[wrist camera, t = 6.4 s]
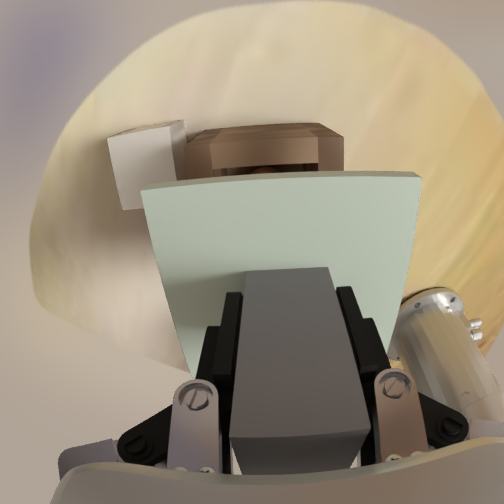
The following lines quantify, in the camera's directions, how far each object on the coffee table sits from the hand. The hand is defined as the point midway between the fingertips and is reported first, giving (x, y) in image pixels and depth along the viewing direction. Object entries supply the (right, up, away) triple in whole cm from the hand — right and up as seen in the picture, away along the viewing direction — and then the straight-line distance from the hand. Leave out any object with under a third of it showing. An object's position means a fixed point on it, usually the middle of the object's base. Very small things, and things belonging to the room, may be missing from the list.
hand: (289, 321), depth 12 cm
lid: (0, +1, +2) cm, 2 cm away
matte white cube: (-9, +11, +14) cm, 20 cm away
